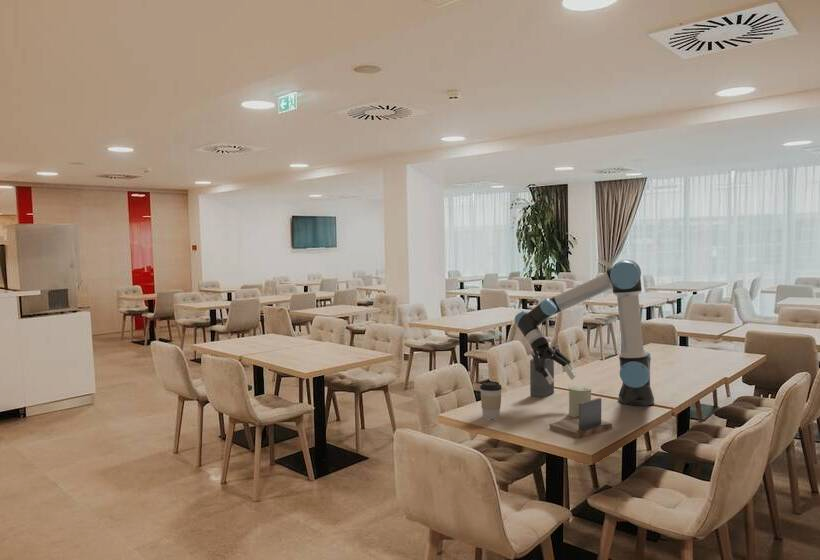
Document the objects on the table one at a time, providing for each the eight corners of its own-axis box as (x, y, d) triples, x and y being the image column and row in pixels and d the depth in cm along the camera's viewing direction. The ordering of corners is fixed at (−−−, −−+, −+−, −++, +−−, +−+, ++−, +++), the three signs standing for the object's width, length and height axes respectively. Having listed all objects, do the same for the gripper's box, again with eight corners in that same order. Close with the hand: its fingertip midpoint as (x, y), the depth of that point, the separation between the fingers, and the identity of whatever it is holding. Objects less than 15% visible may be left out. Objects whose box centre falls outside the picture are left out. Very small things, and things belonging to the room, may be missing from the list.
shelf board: (583, 419, 237) (583, 414, 237) (612, 428, 226) (612, 423, 226) (549, 428, 226) (549, 423, 226) (578, 438, 215) (578, 433, 215)
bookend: (599, 423, 226) (599, 398, 225) (605, 425, 224) (605, 399, 223) (578, 429, 219) (578, 403, 219) (585, 431, 217) (585, 405, 216)
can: (585, 419, 237) (585, 390, 237) (564, 415, 244) (564, 387, 243) (595, 414, 244) (595, 386, 243) (574, 410, 250) (574, 383, 250)
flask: (538, 398, 270) (537, 356, 269) (528, 396, 274) (527, 354, 273) (557, 393, 280) (557, 352, 278) (547, 390, 284) (547, 350, 283)
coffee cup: (505, 419, 240) (505, 383, 239) (485, 421, 237) (485, 385, 236) (496, 413, 248) (496, 378, 247) (476, 415, 246) (476, 380, 245)
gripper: (552, 343, 271) (577, 381, 259) (513, 349, 257) (538, 389, 245) (560, 333, 266) (587, 371, 255) (521, 339, 252) (547, 379, 241)
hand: (563, 380), depth 250 cm, fingers open, 13 cm apart
